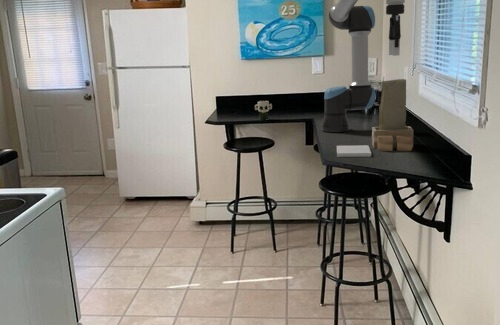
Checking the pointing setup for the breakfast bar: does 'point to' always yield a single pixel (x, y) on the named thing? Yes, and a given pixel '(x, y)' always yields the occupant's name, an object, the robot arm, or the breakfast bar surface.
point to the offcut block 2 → (404, 143)
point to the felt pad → (353, 151)
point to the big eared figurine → (263, 109)
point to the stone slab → (393, 105)
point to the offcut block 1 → (385, 143)
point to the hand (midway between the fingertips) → (393, 55)
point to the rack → (393, 133)
